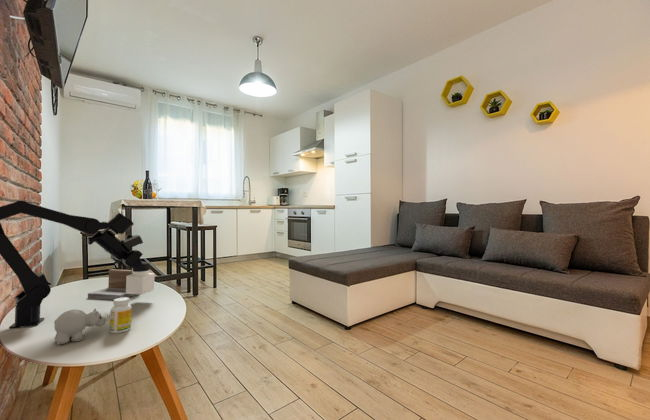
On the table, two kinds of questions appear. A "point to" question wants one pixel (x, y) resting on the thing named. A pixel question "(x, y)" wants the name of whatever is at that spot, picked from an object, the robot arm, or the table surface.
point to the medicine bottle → (140, 281)
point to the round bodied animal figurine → (76, 324)
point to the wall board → (113, 286)
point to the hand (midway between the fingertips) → (142, 269)
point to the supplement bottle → (120, 315)
